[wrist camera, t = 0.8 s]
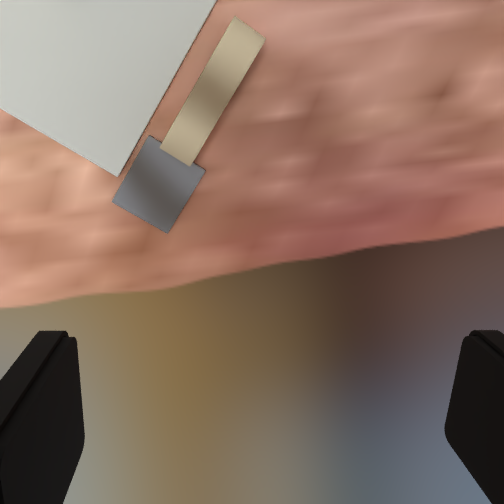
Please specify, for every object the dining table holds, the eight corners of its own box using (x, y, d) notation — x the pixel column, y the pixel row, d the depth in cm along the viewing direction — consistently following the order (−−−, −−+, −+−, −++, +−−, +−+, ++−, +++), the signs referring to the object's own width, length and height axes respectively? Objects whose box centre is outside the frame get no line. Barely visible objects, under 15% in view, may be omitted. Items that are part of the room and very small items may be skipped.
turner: (217, 14, 32) (218, 4, 29) (274, 55, 33) (281, 50, 30) (113, 200, 36) (102, 209, 32) (168, 231, 37) (163, 244, 34)
